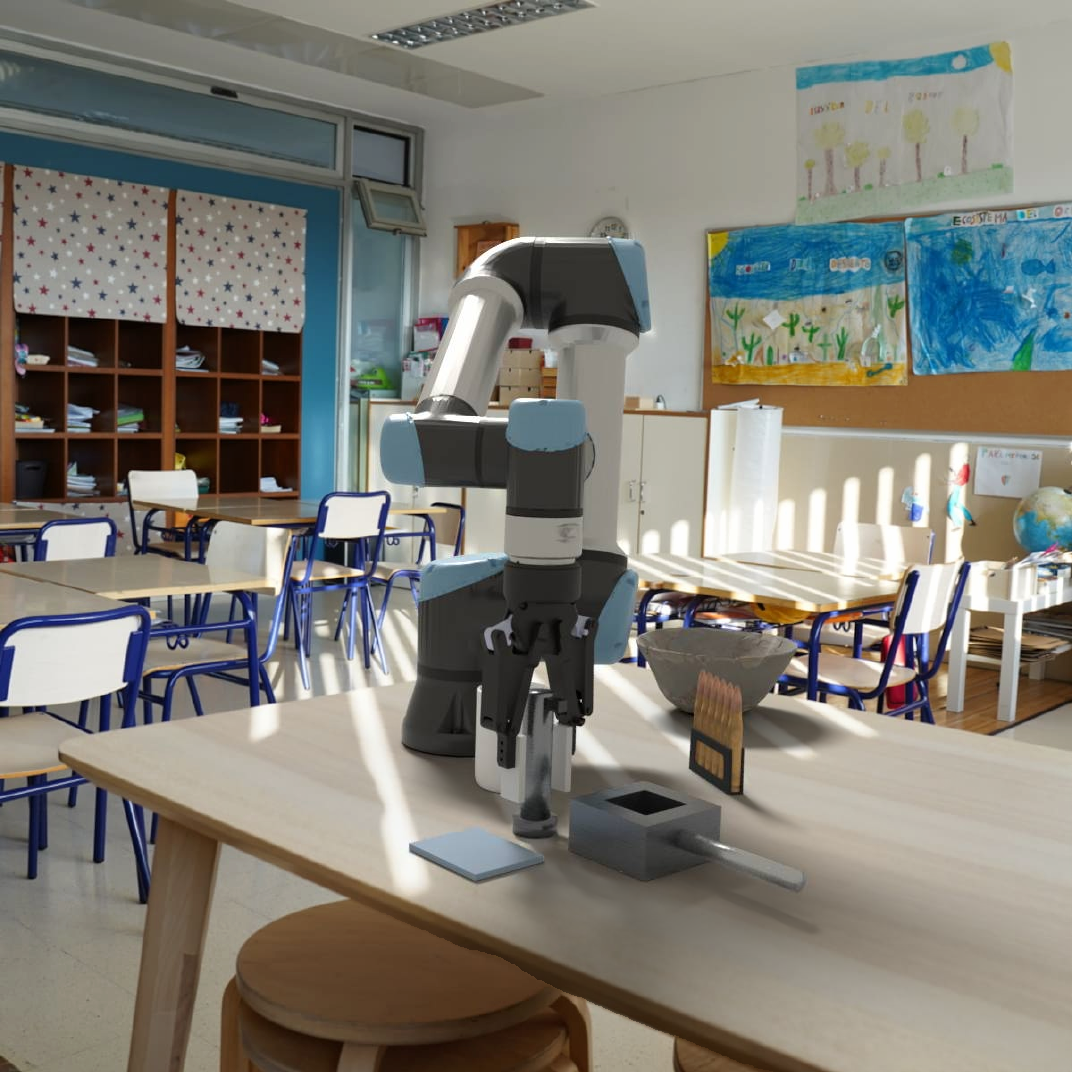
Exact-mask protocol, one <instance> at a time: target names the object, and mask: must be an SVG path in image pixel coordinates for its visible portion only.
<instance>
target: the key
mask: <svg viewBox="0 0 1072 1072" xmlns="http://www.w3.org/2000/svg"><path fill="white" fill-rule="evenodd" d="M554 712H556V713H562V712H567V700H564V699H561V698H557V697H554V691H553V690H549V689H543V688H531V689H530V690H529V694H528V698H527V703H526V707H525V711H524V716H523V729H522V735H525V736H526V767H525V801H524V802H523V803H519V804H520V805H519V807H520V808H519V811H516V812H514V813H513V815H512V829H511V830H512V833H513V834H514V835H516V836H518V837H520V838H525V839H532V840H533V839H549V838H552V837H553V836H556V835H557V832H558V814H556V813H554V812H553V811H552V810H551V809H552V788H551V782H552V750H553V718H554V719H555V717H554Z"/></svg>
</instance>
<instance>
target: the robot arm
mask: <svg viewBox="0 0 1072 1072" xmlns="http://www.w3.org/2000/svg"><path fill="white" fill-rule="evenodd" d="M646 259H647V258H646V253H645V249H644V246H643V244H642V243H640V241H638V240H636V239H631V238H619V237H618V238H616V237H612V236H610V235H609V236H605V237H567V236H566V237H565V236H564V237H562V236H560V237H559V236H558V237H556V236H555V237H553V236H551V237H550V236H549V237H548V236H547V237H543V236H541V237H540V236H523V237H517V238H513V239H510V240H507V241H504V242H502V243H500V244H498V245H496V246H494V247H492V248H490V249H488V250H487V251H486V252H484V253H483V254H481V255H479V256H478V257H477V258H476V259H475V260H473V261H472V262H471V263H470V264H469V265H468V266H467V267H465V269H464V270H463V271H462V272H461V273H460V275H459V276H458V278H457V279H456V280H455V282H454V284H453V286H452V288H451V291H450V294H449V295H448V300H447V304H446V306H447V307H446V309H447V317H448V319H449V320H448V322H447V324H446V327H445V330H444V333H443V335H442V337H441V340H440V343H439V345H438V348H437V351H436V353H435V356H434V359H433V362H432V364H431V367H430V369H429V371H428V375H427V377H426V380H425V383H424V385H423V388H422V391H421V393H420V395H419V399H418V402H417V404H416V406H415V409H414V411H413V413H411V412H405V413H396V414H395V413H394V414H392V415H390V416H387V417H386V419H385V420H384V422H383V425H382V427H381V432H380V437H379V439H380V440H379V459H380V460H379V461H380V466H381V468H380V469H381V471H382V474H383V476H384V478H385V480H387V481H388V482H389V483H391V484H394V485H401V486H403V485H404V486H412V487H419V488H423V489H424V488H455V489H457V488H458V489H459V488H461V489H485V490H486V489H487V490H506V496H505V497H506V500H505V501H506V503H505V514H504V535H503V536H504V538H503V539H504V541H503V552H499V551H498V552H496V551H495V552H481V553H478V552H477V553H470V554H460V555H455V556H448V557H443V558H438V559H435V560H432V561H430V562H428V563H426V564H425V565H424V566H423V568H422V569H421V571H420V574H419V575H420V576H419V586H418V588H419V589H418V596H417V597H416V602H417V603H418V606H417V611H418V612H417V657H416V658H417V660H416V661H417V662H416V664H417V665H416V668H417V669H416V680H415V684H414V687H413V690H412V692H411V694H410V695H411V696H410V699H409V703H408V705H407V708H406V712H405V715H404V717H403V719H402V721H401V742H402V743H403V744H404V745H406V747H409V748H411V749H414V750H415V751H420V752H424V753H428V754H436V755H443V756H454V757H455V756H459V757H471V756H473V757H474V756H475V752H476V713H477V688H478V687H479V686H480V685H482V691H481V712H480V725H481V727H483V728H486V729H489V730H492V731H495V732H496V733H497V763H498V766H500V767H501V793H500V797H501V798H503V799H505V800H509V801H511V802H513V803H515V804H520V803H523V802H524V801H525V767H526V736H525V735H522V734H519V732H520V728H521V724H522V720H523V716H524V711H525V707H526V703H527V698H528V694H529V690H530V686H531V682H533V676H534V673H535V672H534V671H535V669H536V668H537V667H538V666H539V665H540V663H544V664H545V669H546V675H547V678H548V686H550V690H553V691H554V697H557V698H561V699H564V700H567V712H562V713H556V712H554V713H555V717H554V718H555V720H557V721H558V722H557V721H554V722H553V750H552V782H551V789H553V790H557V791H559V792H561V793H569V792H571V784H572V783H571V782H572V756H574V755H575V753H576V750H577V748H576V747H577V727H579V728H581V727H583V726H584V725H585V723H586V718H585V717H591V716H592V715H593V712H594V708H595V707H594V703H595V702H594V698H595V697H594V696H595V693H594V692H595V691H594V689H595V665H598V666H599V665H600V666H601V665H603V666H606V665H607V666H609V665H614V664H616V663H619V662H620V661H621V660H622V659H623V657H624V655H625V653H626V651H627V648H628V643H629V640H630V636H631V632H632V631H631V630H632V628H633V626H632V625H633V621H634V615H635V610H636V604H637V595H638V588H639V581H640V579H639V578H640V577H639V574H638V573H639V572H637V571H635V570H633V569H632V568H628V564H629V563H628V559H629V557H628V555H627V554H626V552H625V550H623V549H622V548H621V547H620V545H619V543H618V542H617V540H618V539H617V537H618V536H617V535H618V515H619V502H620V501H619V498H620V482H621V481H620V480H621V479H620V478H621V461H622V459H621V458H622V444H623V443H622V441H623V424H624V422H623V421H624V406H625V405H624V403H625V388H626V387H625V384H626V370H627V369H626V367H627V364H626V363H627V358H628V356H629V355H631V354H632V353H633V352H635V350H637V349H638V347H639V344H640V335H641V334H645V333H647V332H650V331H651V330H652V319H651V308H650V307H651V306H650V296H649V294H650V293H649V282H648V272H647V260H646ZM524 329H526V330H527V329H530V330H532V329H533V330H547V343H548V344H549V345H550V346H551V347H552V348H553V349H554V350H555V352H557V353H558V355H557V356H558V357H557V371H556V372H557V373H556V385H555V387H556V389H555V398H528V397H527V398H522V397H521V398H516V399H514V400H513V401H512V402H511V403H510V406H509V409H508V416H507V417H503V416H486V415H487V412H488V408H489V405H490V402H491V398H492V396H493V393H494V388H495V385H496V382H497V379H498V376H499V371H500V369H501V366H502V362H503V359H504V354H505V353H506V349H507V345H508V343H509V341H510V340H511V339H512V338H513V337H514V336H516V334H517V333H518V332H519V331H520V330H524ZM640 333H641V334H640ZM508 720H509V722H508Z"/></svg>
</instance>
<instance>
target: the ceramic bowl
mask: <svg viewBox="0 0 1072 1072" xmlns="http://www.w3.org/2000/svg"><path fill="white" fill-rule="evenodd" d="M635 644H636V646H637V647H638V649H639V651H640V652H641V654H642V656H643V657H644V659H645V661H646V662H647V663H648V666H649V669H650V670H651V672H652V674H653V677H654V680H655V681H656V684H657V687H658V688H659V690H660V692H661V693H662V695H663V697H664V698H665V699H666V700H667V701H668V702H669V703H671V704H672V705H674V707H676V708H678V709H679V710H681V711H683V712H685V713H691V714H694V710H695V703H696V697H697V687H698V680H699V676H700V673H701V671H702V669H704V670H705V673H706V677H707V675H708V673H709V672H711V674H712V677H713V680H714V678H715V676H718V678H719V681H720V683H721V681H722V679H724V680H725V682H726V686H728V684H729V682H731V683H732V685H733V689H735V687H736V686H737V685H738V686H739V689H740V692H741V698H742V713H745V712H746V711H749V710H752V709H753V708H755V707H757V706H758V705H759V704H760V703H761V702H762V701H763V700H764V698H766V696H767V695H768V694H770V692H771V690H772V689H773V688H774V686H775V685H776V684H777V682H778V681H779V680H780V678H781V676H782V675H783V674H784V673H785V671H786V669H787V668H788V666H789V665H790V663H791V662H792V659H794V656H795V654H796V652H797V650H798V644H797V643H796V642H794V641H793V640H791V639H789V638H787V637H783V636H780V635H773V634H766V633H765V634H764V633H763V634H762V633H761V632H760V633H759V632H753V631H752V632H748V631H743V630H734V629H724V628H722V629H721V628H712V627H668V628H658V629H652V630H649V631H647V632H645V633H641V634H639V635H638V636H637V637H636V639H635Z"/></svg>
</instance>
